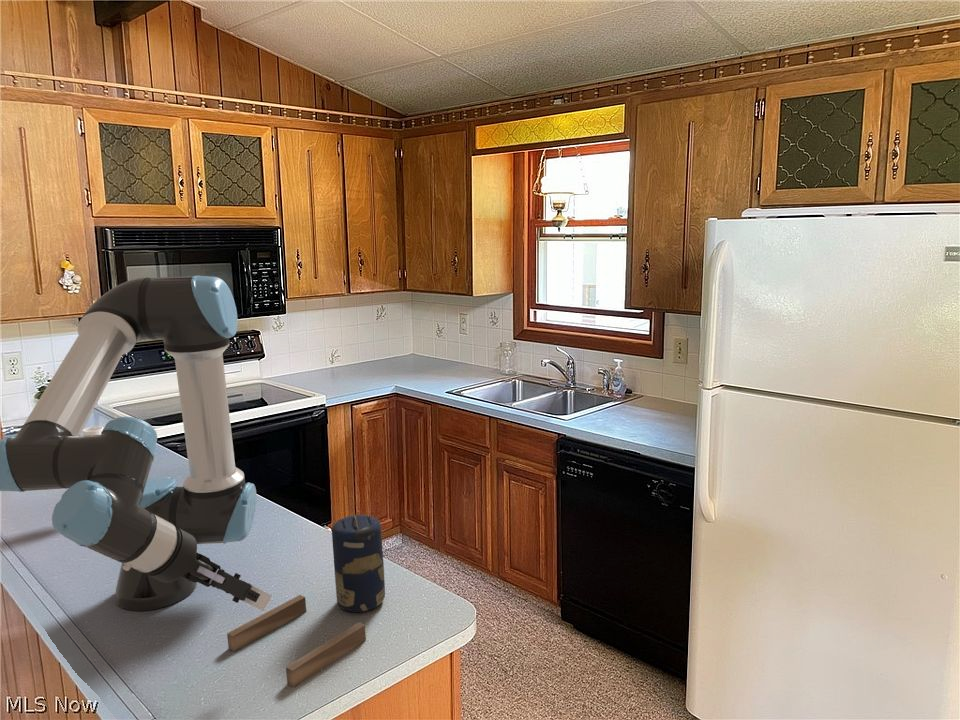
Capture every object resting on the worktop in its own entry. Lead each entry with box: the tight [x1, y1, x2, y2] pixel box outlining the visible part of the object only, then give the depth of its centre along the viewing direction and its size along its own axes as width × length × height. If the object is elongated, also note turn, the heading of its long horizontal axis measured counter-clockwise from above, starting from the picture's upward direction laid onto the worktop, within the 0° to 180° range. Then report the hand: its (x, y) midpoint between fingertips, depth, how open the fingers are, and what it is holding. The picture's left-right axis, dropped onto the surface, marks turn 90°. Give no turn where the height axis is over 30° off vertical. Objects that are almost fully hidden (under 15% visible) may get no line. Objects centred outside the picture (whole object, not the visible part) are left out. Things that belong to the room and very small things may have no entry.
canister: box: [331, 514, 386, 613], centre depth 137 cm, size 10×10×18 cm
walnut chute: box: [226, 594, 367, 688], centre depth 125 cm, size 18×16×3 cm
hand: (264, 601), depth 118 cm, fingers closed
